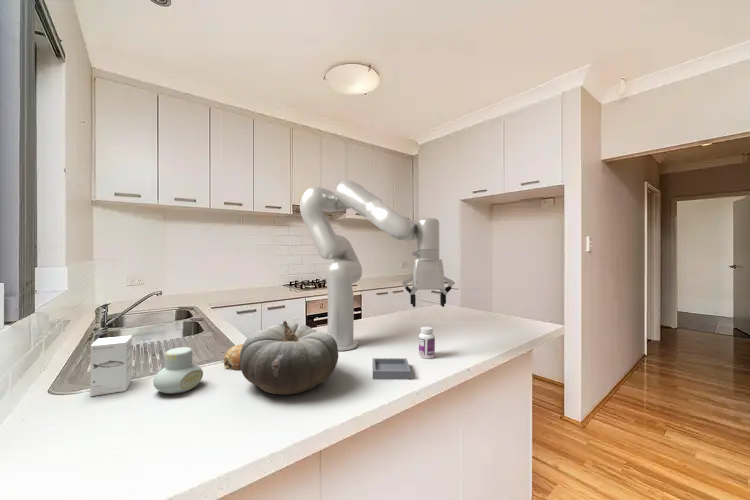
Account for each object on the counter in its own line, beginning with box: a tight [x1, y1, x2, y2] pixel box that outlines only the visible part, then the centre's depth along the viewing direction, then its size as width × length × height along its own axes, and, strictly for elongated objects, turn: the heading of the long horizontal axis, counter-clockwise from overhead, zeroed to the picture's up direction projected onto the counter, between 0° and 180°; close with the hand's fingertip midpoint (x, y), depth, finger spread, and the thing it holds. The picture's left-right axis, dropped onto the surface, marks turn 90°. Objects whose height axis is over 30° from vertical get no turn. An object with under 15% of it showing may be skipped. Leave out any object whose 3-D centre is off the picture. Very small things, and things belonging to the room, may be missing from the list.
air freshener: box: [152, 346, 204, 395], centre depth 85 cm, size 11×8×10 cm
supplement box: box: [89, 335, 133, 397], centre depth 85 cm, size 7×7×13 cm
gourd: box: [240, 320, 339, 396], centre depth 89 cm, size 25×25×17 cm
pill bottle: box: [418, 326, 436, 360], centre depth 112 cm, size 5×5×10 cm
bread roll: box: [223, 343, 244, 371], centre depth 103 cm, size 10×10×8 cm
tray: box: [372, 357, 412, 380], centre depth 98 cm, size 11×11×2 cm
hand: (428, 306), depth 112 cm, fingers open, 9 cm apart
